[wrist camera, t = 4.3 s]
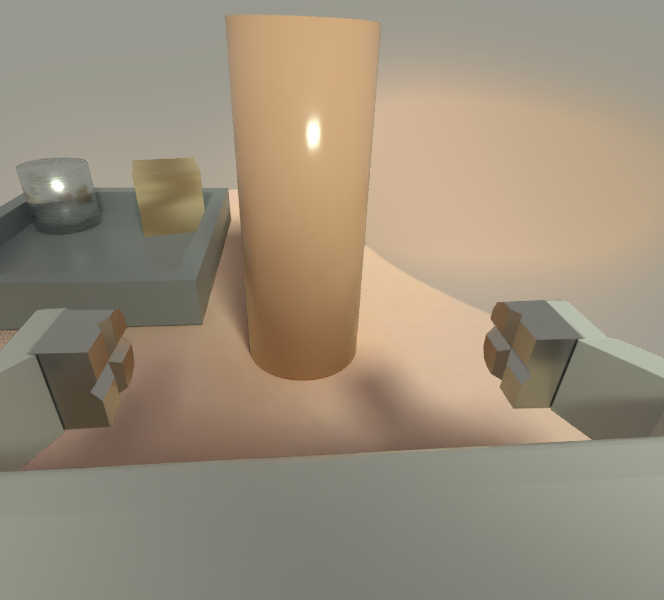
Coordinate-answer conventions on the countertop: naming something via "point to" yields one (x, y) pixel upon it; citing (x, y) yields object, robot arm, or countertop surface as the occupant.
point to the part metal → (60, 195)
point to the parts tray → (111, 263)
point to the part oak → (168, 195)
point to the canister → (302, 182)
